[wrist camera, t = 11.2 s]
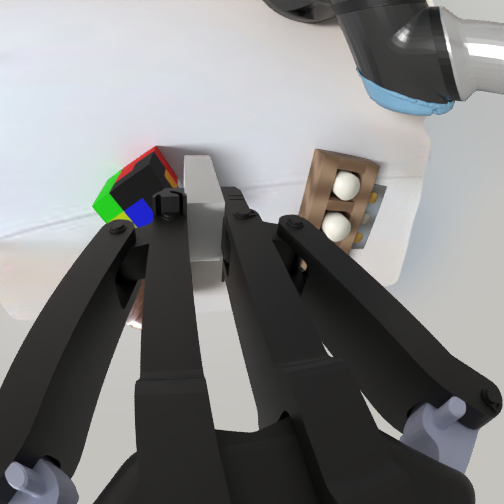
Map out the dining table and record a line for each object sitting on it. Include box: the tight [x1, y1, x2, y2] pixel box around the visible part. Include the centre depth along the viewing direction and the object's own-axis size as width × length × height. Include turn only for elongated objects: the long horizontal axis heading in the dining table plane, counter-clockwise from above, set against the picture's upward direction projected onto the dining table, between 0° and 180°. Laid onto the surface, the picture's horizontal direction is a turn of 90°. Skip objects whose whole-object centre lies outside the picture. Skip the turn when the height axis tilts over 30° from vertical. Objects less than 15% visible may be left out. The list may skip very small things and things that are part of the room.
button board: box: [298, 149, 386, 270], centre depth 54 cm, size 26×19×4 cm
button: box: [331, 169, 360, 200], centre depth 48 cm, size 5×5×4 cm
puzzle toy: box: [92, 146, 184, 228], centre depth 40 cm, size 10×10×10 cm
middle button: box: [320, 210, 351, 242], centre depth 51 cm, size 5×5×4 cm
